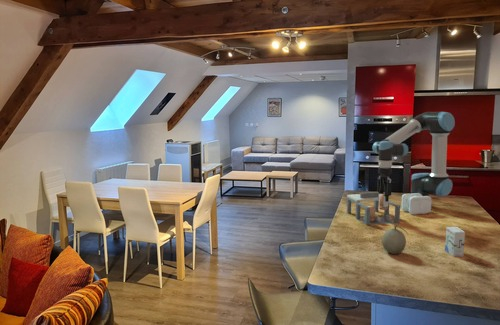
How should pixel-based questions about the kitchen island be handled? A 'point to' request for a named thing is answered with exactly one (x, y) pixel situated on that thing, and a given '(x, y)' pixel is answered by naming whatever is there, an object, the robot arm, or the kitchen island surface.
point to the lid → (365, 196)
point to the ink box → (455, 241)
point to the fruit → (394, 240)
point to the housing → (367, 211)
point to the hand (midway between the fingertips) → (383, 205)
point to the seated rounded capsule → (372, 213)
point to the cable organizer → (416, 203)
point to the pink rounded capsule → (382, 202)
